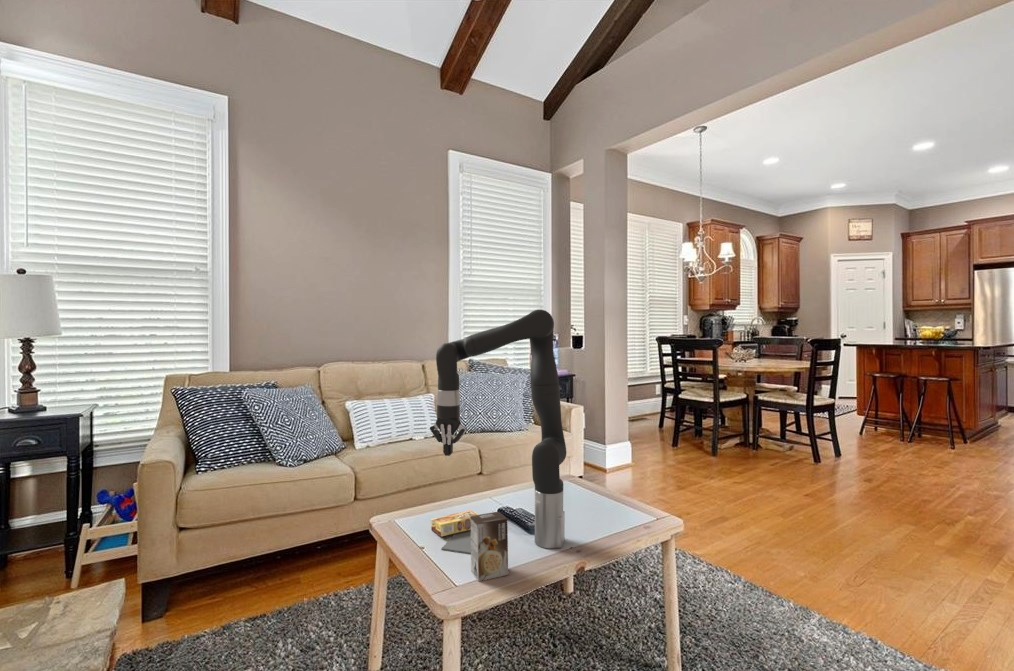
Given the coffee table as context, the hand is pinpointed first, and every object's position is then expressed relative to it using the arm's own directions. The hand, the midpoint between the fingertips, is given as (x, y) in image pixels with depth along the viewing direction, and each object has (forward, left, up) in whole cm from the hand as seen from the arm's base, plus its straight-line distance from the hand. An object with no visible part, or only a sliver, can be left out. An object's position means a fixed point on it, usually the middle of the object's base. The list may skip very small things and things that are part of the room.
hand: (447, 455), depth 159 cm
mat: (-10, +2, -27) cm, 29 cm away
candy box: (+5, 0, -25) cm, 25 cm away
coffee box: (-21, +18, -27) cm, 39 cm away
